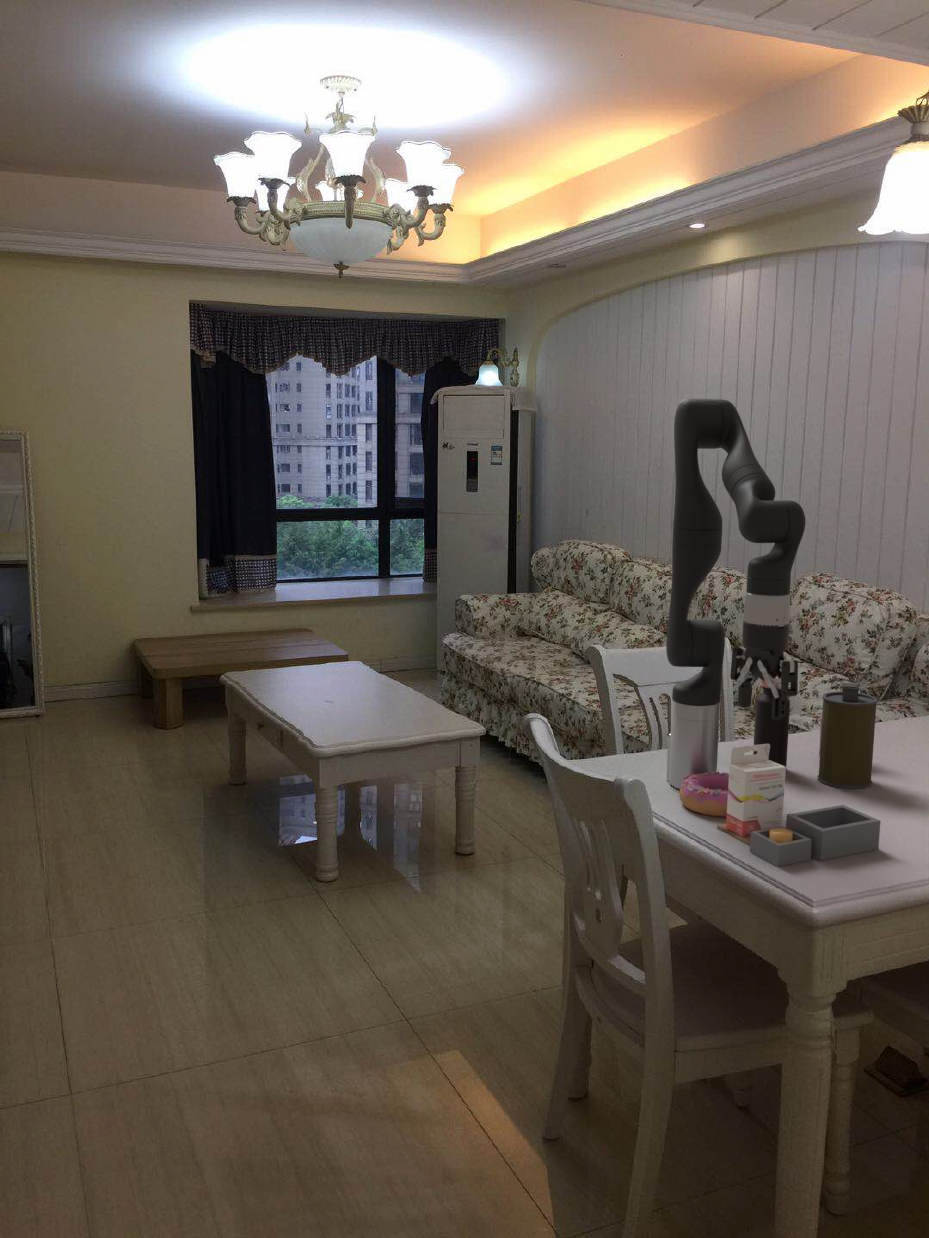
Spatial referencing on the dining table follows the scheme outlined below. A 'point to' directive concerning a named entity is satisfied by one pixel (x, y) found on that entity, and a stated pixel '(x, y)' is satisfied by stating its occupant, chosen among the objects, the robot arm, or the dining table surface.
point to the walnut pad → (744, 839)
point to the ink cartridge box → (754, 791)
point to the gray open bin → (836, 831)
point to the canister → (847, 738)
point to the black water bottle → (771, 726)
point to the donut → (706, 793)
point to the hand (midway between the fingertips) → (761, 712)
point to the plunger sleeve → (780, 847)
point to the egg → (780, 835)
